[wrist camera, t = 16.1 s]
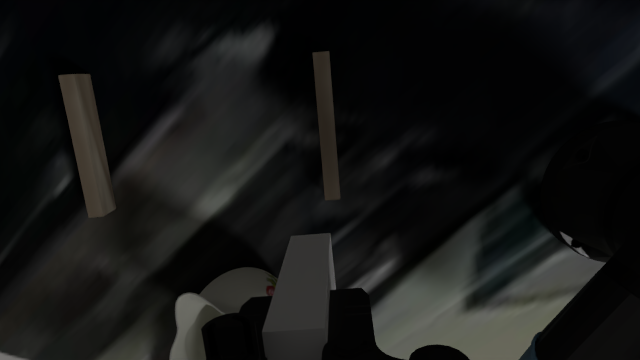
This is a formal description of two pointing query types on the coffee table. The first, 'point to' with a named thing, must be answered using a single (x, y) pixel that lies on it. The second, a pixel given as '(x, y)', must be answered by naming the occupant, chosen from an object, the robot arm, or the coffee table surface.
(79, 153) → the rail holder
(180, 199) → the coffee table surface
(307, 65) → the coffee table surface
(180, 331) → the pitcher
